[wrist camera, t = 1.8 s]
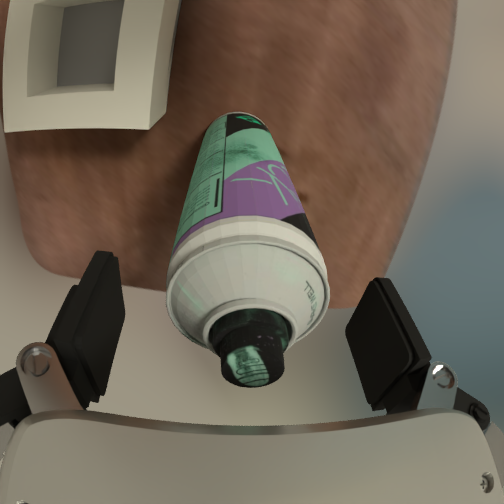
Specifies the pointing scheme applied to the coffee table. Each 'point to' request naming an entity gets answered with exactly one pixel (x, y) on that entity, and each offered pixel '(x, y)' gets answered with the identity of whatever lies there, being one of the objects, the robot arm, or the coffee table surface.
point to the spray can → (245, 255)
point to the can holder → (87, 63)
